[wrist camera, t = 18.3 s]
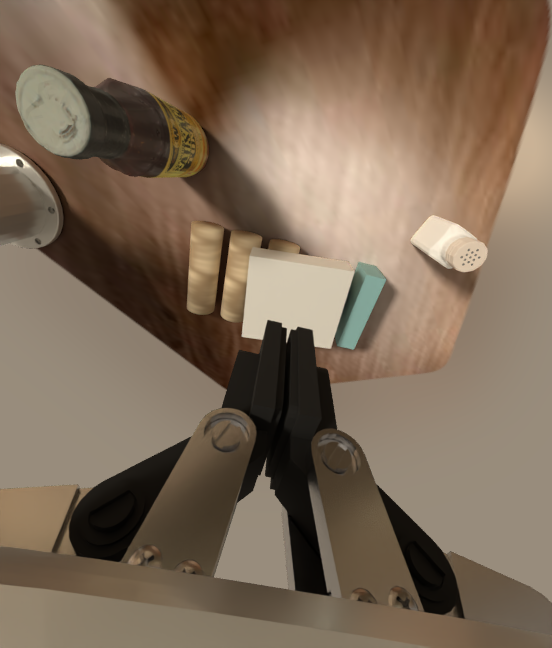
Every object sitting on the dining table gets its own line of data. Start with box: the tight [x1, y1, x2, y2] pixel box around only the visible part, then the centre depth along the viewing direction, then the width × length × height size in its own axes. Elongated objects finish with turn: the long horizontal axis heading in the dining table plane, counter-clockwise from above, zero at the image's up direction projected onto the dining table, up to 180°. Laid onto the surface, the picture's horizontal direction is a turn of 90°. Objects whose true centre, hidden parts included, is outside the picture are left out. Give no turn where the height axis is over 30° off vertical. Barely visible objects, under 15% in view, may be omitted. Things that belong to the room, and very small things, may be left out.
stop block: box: [335, 262, 386, 350], centre depth 38 cm, size 2×11×5 cm, turn 167°
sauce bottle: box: [16, 65, 209, 178], centre depth 23 cm, size 7×6×20 cm
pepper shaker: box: [411, 215, 488, 272], centre depth 31 cm, size 4×4×10 cm
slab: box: [242, 247, 355, 349], centre depth 35 cm, size 12×11×4 cm
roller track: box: [187, 221, 350, 322], centre depth 38 cm, size 22×12×4 cm, turn 77°
